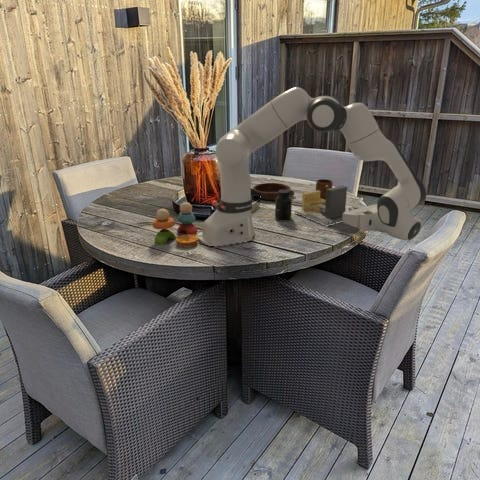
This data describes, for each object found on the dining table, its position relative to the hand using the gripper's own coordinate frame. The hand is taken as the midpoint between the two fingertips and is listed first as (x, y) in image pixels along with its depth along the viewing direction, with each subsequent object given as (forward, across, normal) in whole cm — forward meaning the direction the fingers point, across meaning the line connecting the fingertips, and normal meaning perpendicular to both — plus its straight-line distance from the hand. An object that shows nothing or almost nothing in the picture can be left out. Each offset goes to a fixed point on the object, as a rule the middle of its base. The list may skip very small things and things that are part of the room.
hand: (351, 208), depth 174 cm
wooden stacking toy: (+27, +61, +8) cm, 67 cm away
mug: (+30, -14, +8) cm, 34 cm away
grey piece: (+14, 0, +7) cm, 15 cm away
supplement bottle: (+22, +16, +8) cm, 29 cm away
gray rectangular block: (+10, 0, +6) cm, 12 cm away
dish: (+50, +1, +8) cm, 51 cm away
